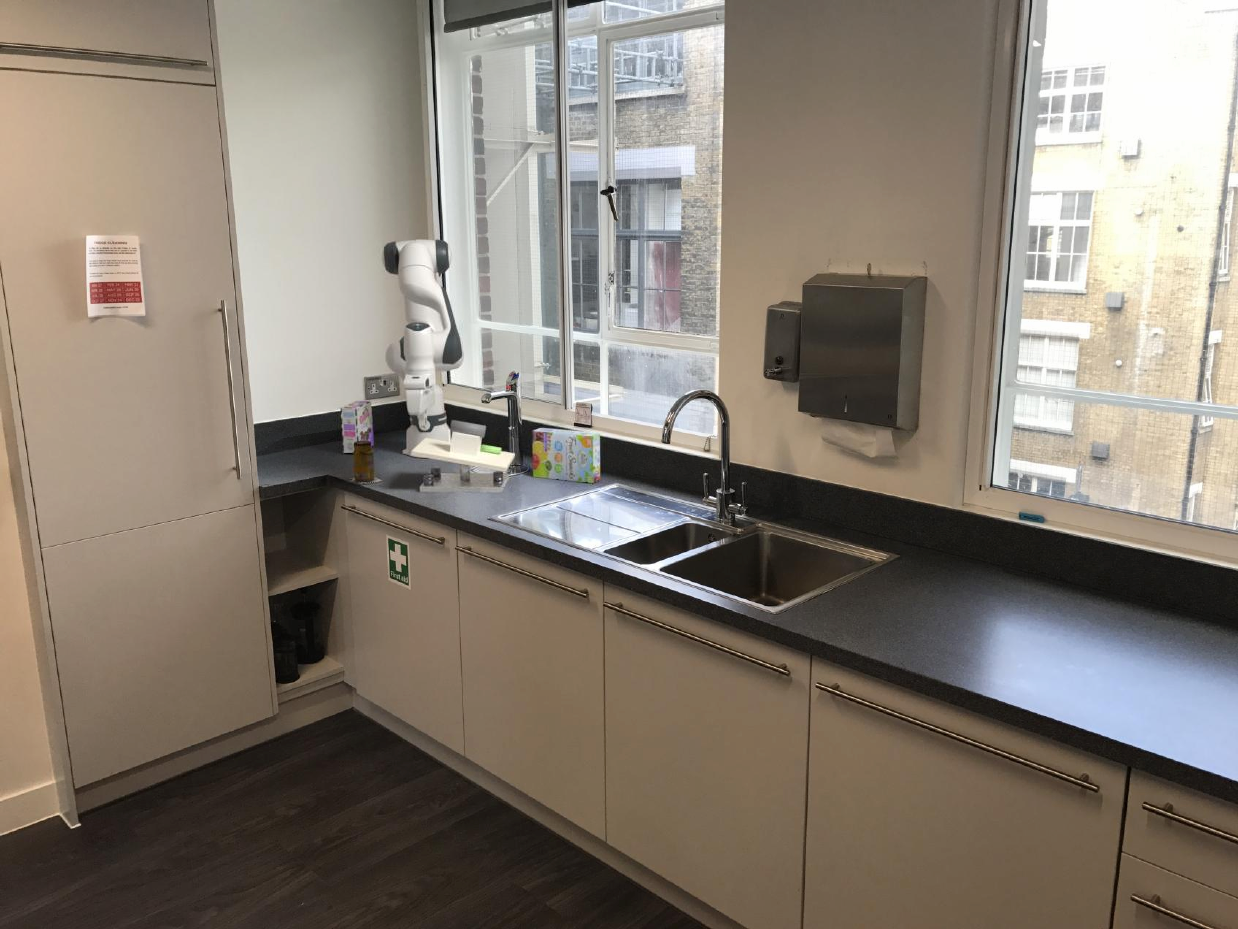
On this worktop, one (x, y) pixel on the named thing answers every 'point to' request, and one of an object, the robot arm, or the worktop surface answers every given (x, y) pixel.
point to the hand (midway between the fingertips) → (423, 424)
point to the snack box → (566, 455)
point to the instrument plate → (462, 459)
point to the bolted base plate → (463, 481)
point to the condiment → (363, 462)
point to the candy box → (356, 424)
